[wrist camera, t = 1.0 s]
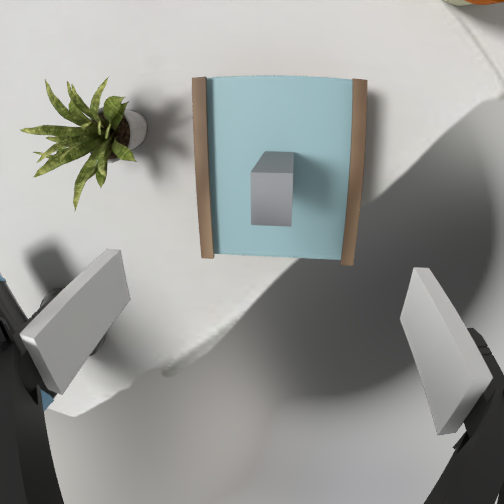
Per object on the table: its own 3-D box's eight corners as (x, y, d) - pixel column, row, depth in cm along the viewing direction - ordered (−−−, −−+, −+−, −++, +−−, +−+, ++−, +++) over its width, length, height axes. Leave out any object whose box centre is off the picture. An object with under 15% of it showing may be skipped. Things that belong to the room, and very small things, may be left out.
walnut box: (217, 231, 45) (201, 258, 37) (212, 82, 36) (191, 77, 29) (343, 236, 43) (352, 265, 35) (352, 85, 34) (367, 80, 26)
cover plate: (215, 250, 39) (185, 307, 28) (208, 78, 30) (165, 67, 20) (341, 256, 37) (355, 317, 27) (352, 80, 29) (381, 68, 18)
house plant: (124, 53, 35) (45, 40, 20) (200, 104, 37) (144, 106, 23) (77, 136, 41) (-2, 160, 26) (143, 188, 43) (77, 233, 29)
